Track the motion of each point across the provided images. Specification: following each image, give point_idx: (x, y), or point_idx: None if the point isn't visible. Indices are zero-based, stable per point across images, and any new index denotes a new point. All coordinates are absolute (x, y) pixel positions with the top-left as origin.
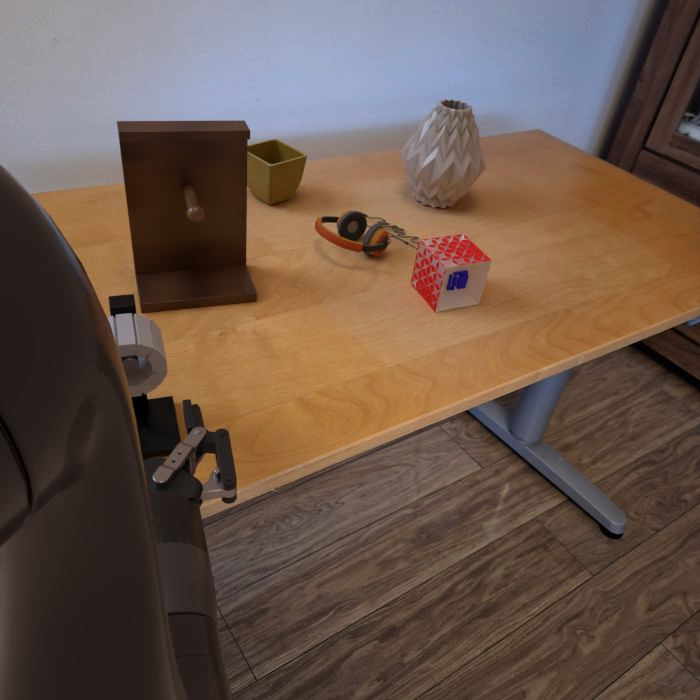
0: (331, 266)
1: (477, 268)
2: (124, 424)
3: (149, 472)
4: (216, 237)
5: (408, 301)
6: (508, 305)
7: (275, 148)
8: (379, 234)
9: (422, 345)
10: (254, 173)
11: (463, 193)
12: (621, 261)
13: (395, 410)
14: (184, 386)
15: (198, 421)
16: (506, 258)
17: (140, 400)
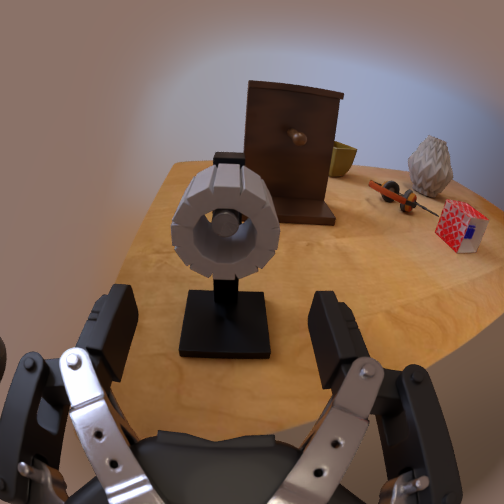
0: (381, 213)
1: (480, 225)
2: None
3: (235, 488)
4: (306, 173)
5: (438, 243)
6: (488, 255)
7: (335, 146)
8: (413, 196)
9: (459, 275)
10: None
11: (442, 189)
12: None
13: (462, 328)
14: (274, 284)
15: (354, 341)
16: None
17: (230, 290)
